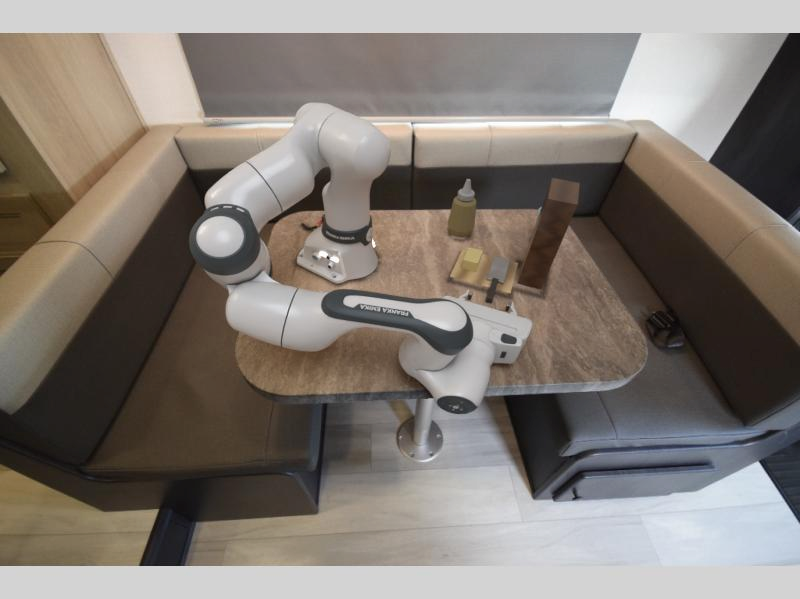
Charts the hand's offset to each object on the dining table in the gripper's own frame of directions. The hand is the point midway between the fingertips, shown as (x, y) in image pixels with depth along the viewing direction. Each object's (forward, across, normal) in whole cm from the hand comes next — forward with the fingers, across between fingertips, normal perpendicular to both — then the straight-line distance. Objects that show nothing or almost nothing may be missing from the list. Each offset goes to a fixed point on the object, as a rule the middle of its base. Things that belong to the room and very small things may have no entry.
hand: (489, 297), depth 82 cm
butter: (+15, -8, -4) cm, 18 cm away
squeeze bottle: (+29, -14, -6) cm, 33 cm away
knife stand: (+17, +8, -6) cm, 20 cm away
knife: (+10, 0, -4) cm, 11 cm away
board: (+14, -4, -6) cm, 16 cm away
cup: (+35, +10, -6) cm, 37 cm away
